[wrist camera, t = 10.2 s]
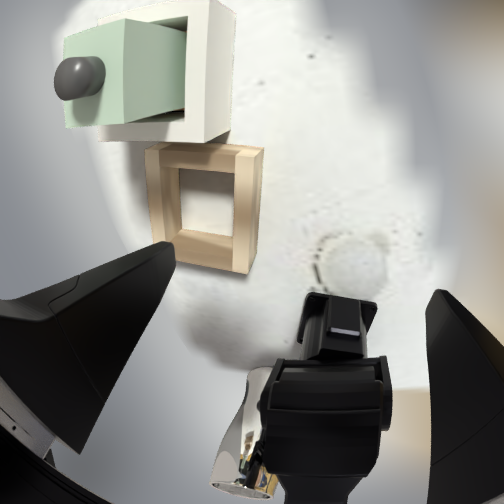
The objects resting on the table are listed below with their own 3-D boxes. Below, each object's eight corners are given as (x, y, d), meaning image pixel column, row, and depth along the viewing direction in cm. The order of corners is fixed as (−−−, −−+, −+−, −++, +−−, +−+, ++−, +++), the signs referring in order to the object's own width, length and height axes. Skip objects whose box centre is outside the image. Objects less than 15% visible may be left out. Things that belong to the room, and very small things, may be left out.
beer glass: (249, 392, 37) (217, 492, 25) (238, 361, 34) (197, 476, 21) (301, 397, 35) (278, 503, 23) (297, 365, 32) (271, 491, 19)
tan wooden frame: (256, 253, 25) (247, 274, 23) (170, 238, 26) (155, 256, 24) (264, 147, 20) (254, 157, 18) (164, 140, 22) (144, 149, 19)
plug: (195, 105, 18) (102, 130, 10) (145, 106, 19) (45, 136, 11) (198, 36, 15) (103, 14, 7) (146, 42, 16) (42, 38, 8)
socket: (230, 129, 20) (204, 143, 16) (138, 127, 21) (98, 141, 17) (236, 13, 15) (210, -5, 11) (138, 25, 17) (97, 19, 12)
